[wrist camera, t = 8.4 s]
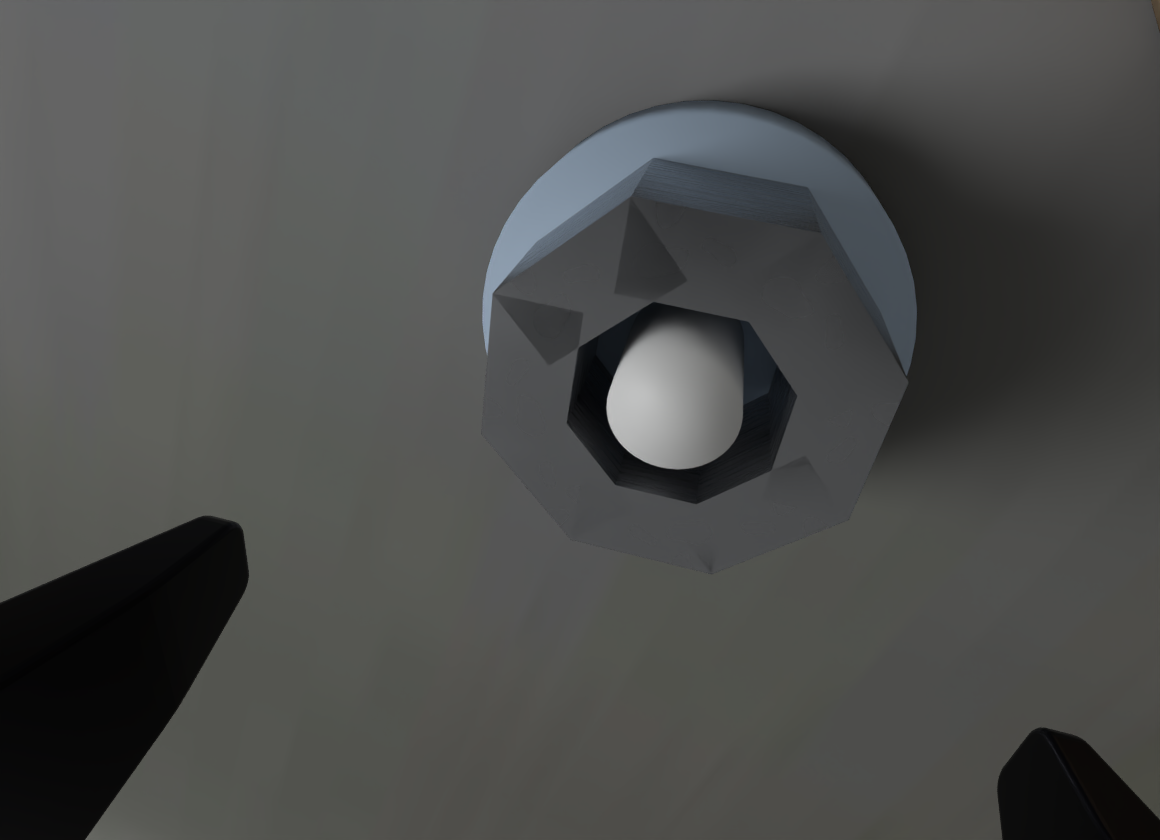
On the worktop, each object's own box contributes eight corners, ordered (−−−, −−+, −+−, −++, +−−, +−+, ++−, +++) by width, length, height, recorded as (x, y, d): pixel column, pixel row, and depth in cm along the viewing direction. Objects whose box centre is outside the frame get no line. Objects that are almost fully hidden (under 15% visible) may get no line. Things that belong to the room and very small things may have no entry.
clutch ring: (921, 208, 13) (961, 261, 11) (804, 507, 17) (813, 599, 14) (547, 137, 14) (502, 170, 11) (514, 440, 18) (474, 515, 15)
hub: (970, 146, 14) (1062, 212, 10) (823, 502, 19) (844, 648, 15) (528, 63, 15) (441, 93, 11) (493, 424, 20) (424, 541, 16)
